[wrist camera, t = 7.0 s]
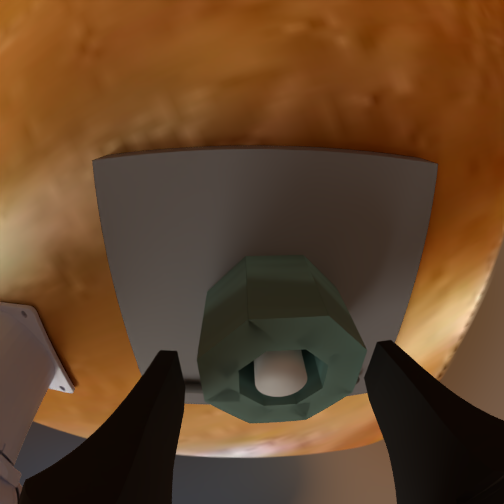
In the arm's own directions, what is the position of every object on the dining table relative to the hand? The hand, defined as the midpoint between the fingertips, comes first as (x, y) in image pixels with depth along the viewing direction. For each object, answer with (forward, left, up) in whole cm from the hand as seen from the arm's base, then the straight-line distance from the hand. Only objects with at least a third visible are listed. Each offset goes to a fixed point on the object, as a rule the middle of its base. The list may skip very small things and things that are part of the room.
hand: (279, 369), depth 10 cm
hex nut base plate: (0, 0, -5) cm, 5 cm away
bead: (0, 0, -3) cm, 3 cm away
